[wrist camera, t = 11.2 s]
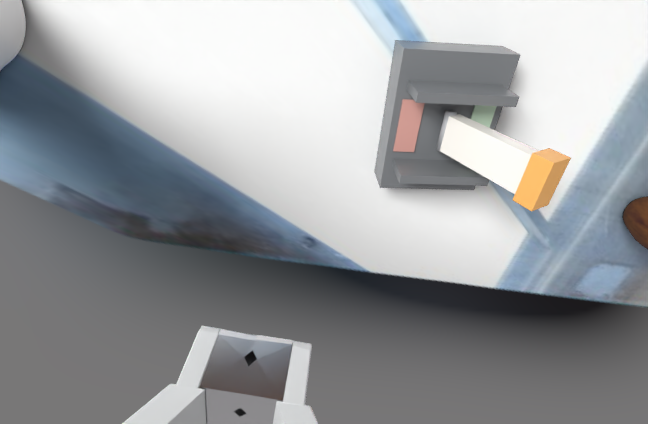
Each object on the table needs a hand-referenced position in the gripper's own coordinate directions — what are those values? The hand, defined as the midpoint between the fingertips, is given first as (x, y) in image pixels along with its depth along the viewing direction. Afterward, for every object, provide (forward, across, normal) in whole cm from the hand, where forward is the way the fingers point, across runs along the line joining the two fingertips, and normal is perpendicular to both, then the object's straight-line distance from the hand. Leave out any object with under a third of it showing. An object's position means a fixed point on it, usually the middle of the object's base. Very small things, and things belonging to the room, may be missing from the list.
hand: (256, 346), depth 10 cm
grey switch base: (+38, -13, +6) cm, 41 cm away
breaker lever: (+33, -14, +6) cm, 36 cm away
